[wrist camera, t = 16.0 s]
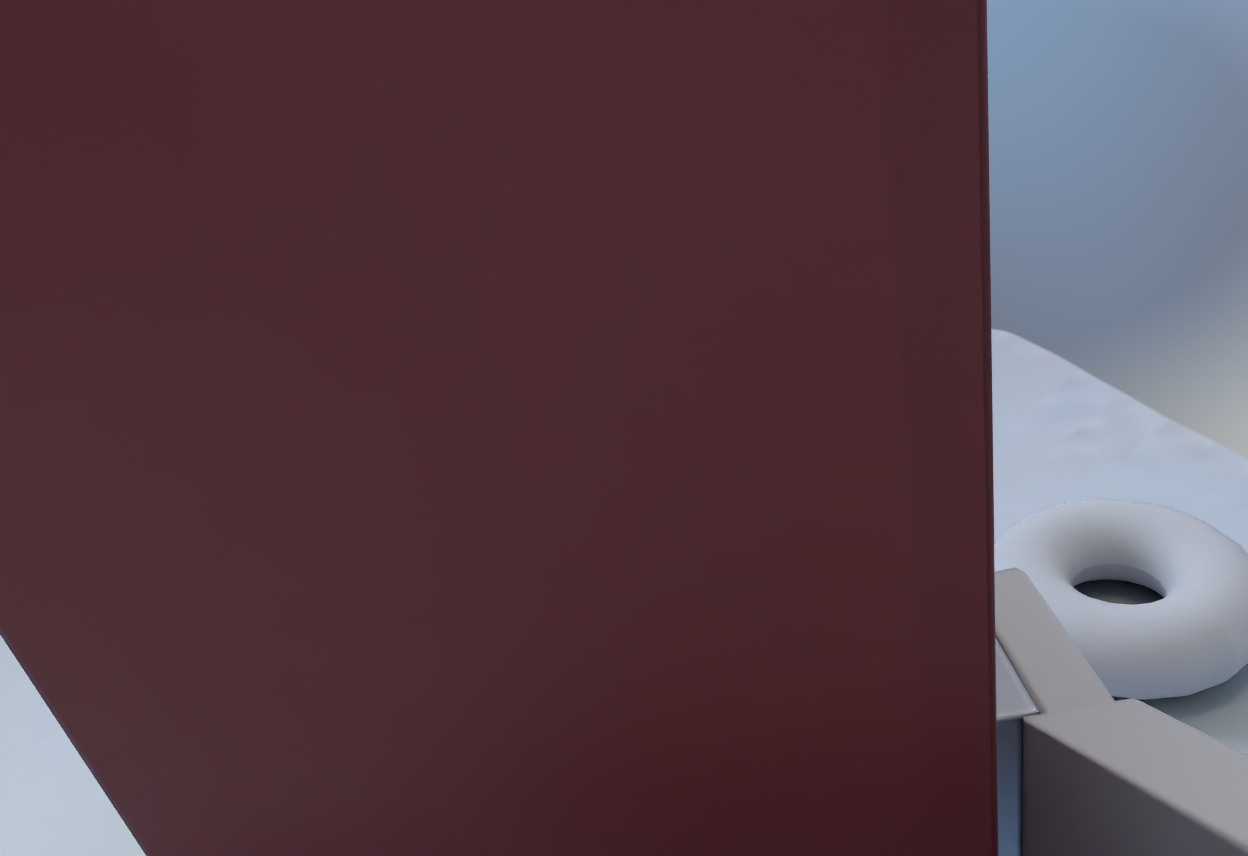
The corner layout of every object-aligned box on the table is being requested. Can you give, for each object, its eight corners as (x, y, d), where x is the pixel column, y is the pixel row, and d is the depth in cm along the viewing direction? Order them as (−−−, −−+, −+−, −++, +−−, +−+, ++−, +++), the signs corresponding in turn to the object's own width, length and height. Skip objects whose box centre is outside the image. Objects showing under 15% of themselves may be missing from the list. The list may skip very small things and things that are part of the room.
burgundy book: (598, 1544, 9) (-409, 27, 3) (581, 752, 18) (329, -73, 12) (1009, 1485, 9) (993, -296, 3) (793, 713, 18) (661, -148, 11)
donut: (1058, 522, 45) (931, 642, 40) (1060, 459, 43) (928, 575, 38) (1310, 607, 37) (1194, 767, 32) (1323, 534, 36) (1204, 690, 31)
